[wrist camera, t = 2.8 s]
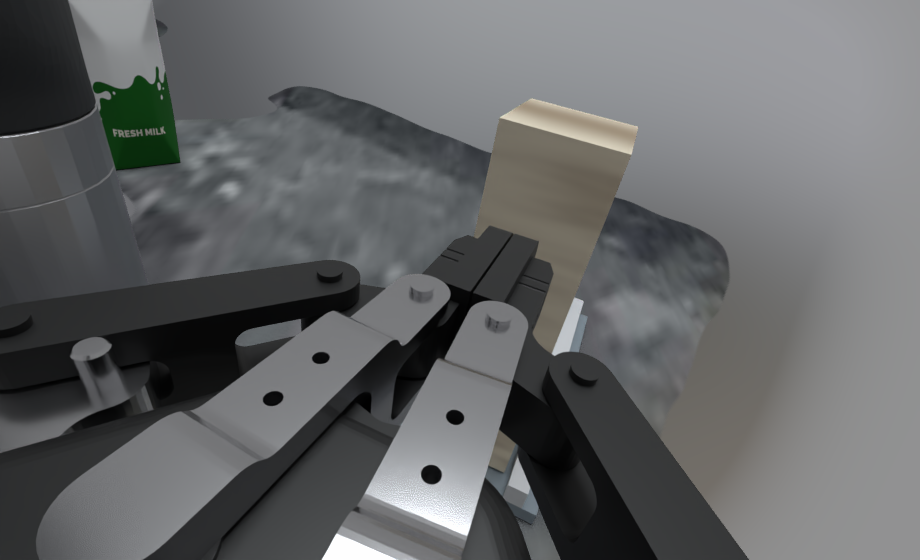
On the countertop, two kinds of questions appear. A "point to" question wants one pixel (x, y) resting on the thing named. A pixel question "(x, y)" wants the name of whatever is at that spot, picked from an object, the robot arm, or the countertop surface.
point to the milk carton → (128, 79)
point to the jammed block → (553, 200)
